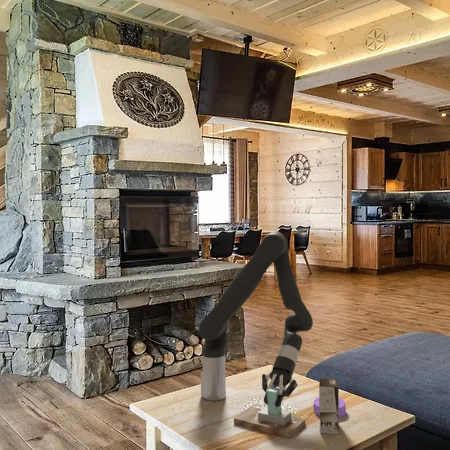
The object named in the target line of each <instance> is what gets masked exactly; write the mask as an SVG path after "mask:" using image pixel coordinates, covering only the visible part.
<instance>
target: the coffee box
mask: <svg viewBox="0 0 450 450" xmlns="http://www.w3.org/2000/svg"><path fill="white" fill-rule="evenodd" d="M318 382H319V386H318V388H319V389H318V390H319V395H318V396H319V397H318V398H319V405H320V416H319V433H320V434H328V435H339V428H340V427H339V426H340V424H339V422H340V421H339V419H340V418H339V398H340V397H339V393H340V392H339V380H338V378H337V377H336V378H335V377H319V381H318Z"/></svg>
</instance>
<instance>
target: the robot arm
mask: <svg viewBox="0 0 450 450" xmlns="http://www.w3.org/2000/svg"><path fill="white" fill-rule="evenodd" d="M288 249H289V248H288V241H287V239H286V236H285V235H284V234H283V233H281V232H280V231H271V232H269V233H267V234H266V235H265V236H264V237H263V238H262V240H261V241H260V243H259V245H258V247H257V249H256V250H255V251H254V253H253V255H252V257H251V258H250V259H249V261H248V262H246V264H245V265H244V266H242V268H241V269H240V270H239V272H237V274H236V275H235V276H234V278H233V279H232V280H231V282H230V283H229V285H228V286H227V287H226V289H225V291H224V292H223V293H222V294H221V296H220V298H219V299H218V301H217V303H216V304H215V306H214V307H213V308H212V309H211V310H210V312H208V314H207V315H205V316H204V317H203V319H201V321H200V323H199V327H198V332H199V333H198V334H199V335H200V337H201V338H202V339H203V340H204V343H203V346H202V349H201V356H202V357H201V358H202V361H201V362H202V364H201V365H202V372H201V373H200V397H201V398H203V399H204V400H207V401H209V402H210V401H211V402H212V401H215V402H216V401H222V400H224V399H225V398H226V397H227V386H226V385H227V384H226V383H227V382H226V380H227V379H226V348H227V338H228V337H227V336H228V335H227V334H228V333H227V332H228V331H227V330H228V326H227V322H228V321H229V319H230V318H231V317H232V316H233V314H235V313H236V312H237V311H238V310H239V309H240V308H241V307H242V306H243V305H244V304H245V303H246V302H247V301H248V300H249V298H250V297H251V296H252V295H253V293H254V292H255V290H256V289H257V287H258V286H259V284H260V282H262V281H261V280H262V279H263V277H264V275H265V273H266V272H267V270H269V268H270V267H271V265H272V264H273V266H274V269H275V273H276V279H277V283H278V285H277V287H278V289H279V294H280V297H281V300H282V303H283V306H284V307H285V309H287V310H290V311H293V313H290V314H289V315H288V316H287V317H286V318H285V320H284V321H285V322H284V333H283V340H282V342H281V345H280V348H279V349H278V351H277V354H276V357H275V360H274V363H273V365H272V369H271V370H272V371H270V373H269V374H265V373H263V374H261V386H262V390H263V391H264V392H265V395H264V398H263V402H264V404H265V405H266V406H268V402H267V390H269V389H270V388H272V387H274V388H279V395H278V396H277V399H276V401H275V406H276V407H279V406H280V405H281V406H282V402H283V399H284V397H285V398H289V397H290V396H291V395H292V393H293V392H294V390H295V389H296V388H297V386H298V385H299V384H298V382H297V380H296V379H293V377H292V376H293V374H294V372H295V370H296V369H295V368H296V365H297V363H298V359H299V354H300V351H301V348H302V345H303V338H302V336H301V335H299V334H297V333H299V332H308V331H310V330H312V328H313V324H314V323H313V317H312V315H311V313H310V311H309V310H308V307H307V306H306V305H305V303H304V302H303V300H302V296H301V294H300V290H299V288H298V284H297V281H296V278H295V275H294V272H293V269H292V265H291V260H290V255H289V250H288ZM269 380H270V381H269ZM268 382H269V383H268ZM287 385H288V386H287Z"/></svg>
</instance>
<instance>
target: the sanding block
mask: <svg viewBox="0 0 450 450" xmlns="http://www.w3.org/2000/svg"><path fill="white" fill-rule="evenodd" d="M278 395H279V387H276V388H274V387H272V388H270V389H269V390H267V402H268V405H266V406H264V407H263V408H261V409H262V410H260V411H259V412H258V419H259V420H263V421H267V422H271V423H275V424H279V425H283V426H284V425H285V424H286V423H287V422H288V421H289V420H291V419H292V416H293V415H292V411H290V410H286V409H282V404H281V405H280V406H279V407H276V406H275V401H276V399H277V396H278Z"/></svg>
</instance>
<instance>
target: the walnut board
mask: <svg viewBox="0 0 450 450" xmlns="http://www.w3.org/2000/svg"><path fill="white" fill-rule="evenodd" d="M262 409H263V408H259V407H256V406H255V407H254V406H249V407H248V408H247V409H245V410H244V411H242V412H241V413H239V414H238V415H236V416H235V417H233V424H234V425H238V426H241V427H245V428H248V429H252V430H256V431H260V432H263V433H268V434H270V435H275V436H279V437H282V438H285V439H286V438H287V439H290V440H291V439H292V438H293V437H294V436H295V435H296V434H297V433H298V432H299V431H301V430H302V429H303V427H305V426H306V419H305V418H301V417H297V416H293V415H291V416H292V419H291V420H289V421H288V422H287V423H286V424H285V425H284V426H283V425H279V424H275V423H271V422H267V421H263V420H259V419H258V412H259V411H260V410H262Z"/></svg>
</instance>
